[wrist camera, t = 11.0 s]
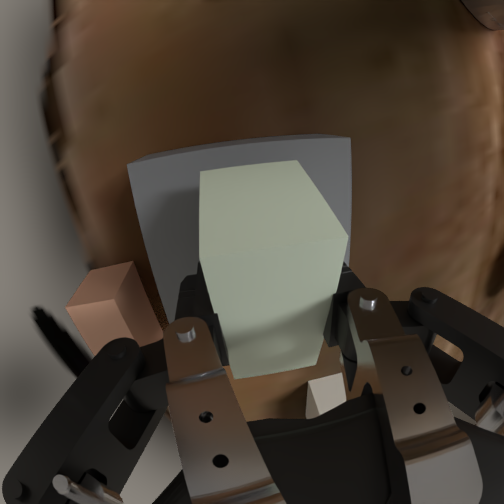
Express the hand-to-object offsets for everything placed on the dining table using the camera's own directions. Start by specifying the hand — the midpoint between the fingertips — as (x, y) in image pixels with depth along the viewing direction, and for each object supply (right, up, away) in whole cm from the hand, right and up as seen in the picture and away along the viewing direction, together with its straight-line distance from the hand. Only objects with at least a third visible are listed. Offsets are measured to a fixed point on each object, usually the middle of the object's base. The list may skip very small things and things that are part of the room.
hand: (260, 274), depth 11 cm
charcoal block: (-1, +3, +6) cm, 6 cm away
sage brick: (0, +1, +1) cm, 2 cm away
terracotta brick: (-9, -3, +7) cm, 12 cm away
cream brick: (+7, -14, +15) cm, 22 cm away
